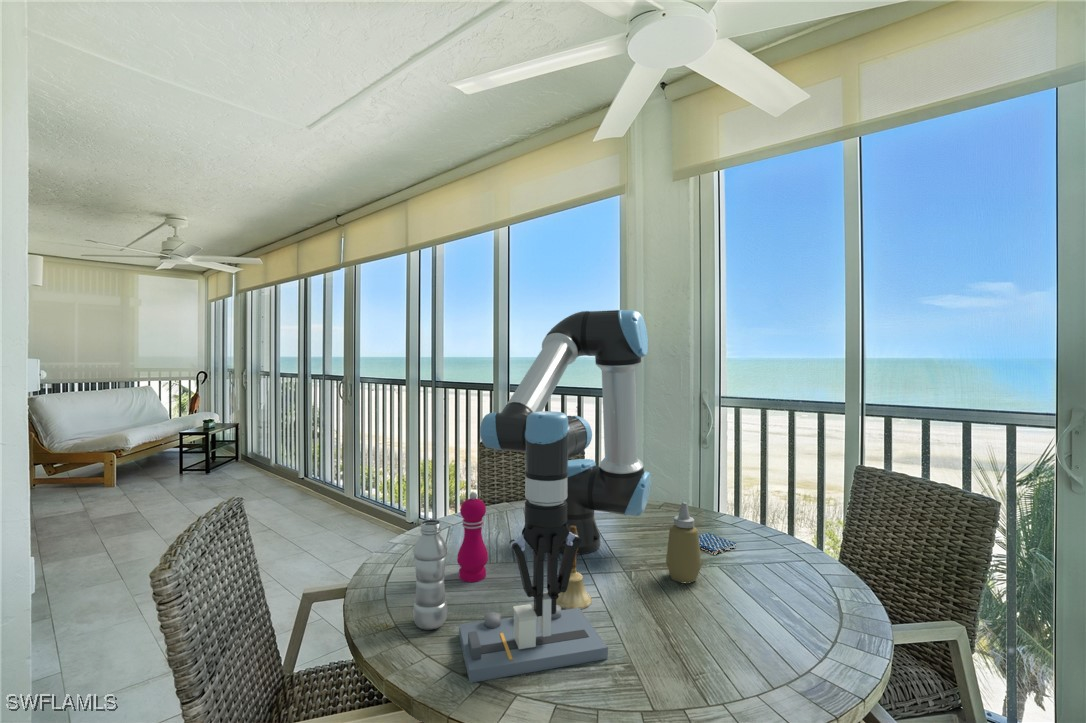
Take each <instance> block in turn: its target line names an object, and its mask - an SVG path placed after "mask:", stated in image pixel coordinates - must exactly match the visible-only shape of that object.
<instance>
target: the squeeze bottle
mask: <svg viewBox="0 0 1086 723" xmlns="http://www.w3.org/2000/svg"><path fill="white" fill-rule="evenodd" d="M689 512H690V511H689V506H688V502H685V501H684V502H681V505H680V509H679V513H678V515H675V516H674V518H673V525H671V526H670V527H669V533H668V539H667V540H668V541H667V542H668V543H667V550H666V557H665V559H666V560H665V562H666V566H667V569H668V572H669V576H670V578H671V579H672V580H673V579H674V580H673V581H675V580H676V581H675V582H677V581H678V582H677V583H680V582H686V583H685V584H690V583H689V582H693V581H695V580H696V581H697V578H698V577H699V574H700V571H701V568H702V560H701V559H702V558H701V549H700V545H699V535H700V534H699V530H698V529H697V527H695V519H694V518H693V517H692V516H690V513H689ZM696 581H695V582H696ZM693 583H694V582H693Z"/></svg>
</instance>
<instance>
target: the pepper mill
mask: <svg viewBox="0 0 1086 723" xmlns="http://www.w3.org/2000/svg"><path fill="white" fill-rule="evenodd" d="M486 507H487V506H486V504H485V502H484V501H483V500H482V499H479V498H478V494H477V493H476V492H474V491H473V492H470V494H469V498H468V499H466V500H464V501H463V502H462V503H461V506H460V513H459V514H460V515H461V517H462V518H463V519H462V527H463V529H464V530H463V531H464V533H463V540H462V543H461V546H460V548H458V553H457V558H456V560H457V564H458V565H459V566H460V568H459V572H458V574H459V579H460V580H461V581H463V582H465V583H476V582H481V581H483V580H485V578H486V576H487V568H486V566H485V565H486V564H487V563H488V561H489V553H488V550H487V547H486V545H485V542H484V539H483V534H482V530H483V526H484V521H485V520H484V516H485V514H486V513H487V508H486Z"/></svg>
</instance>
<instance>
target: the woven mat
mask: <svg viewBox="0 0 1086 723" xmlns="http://www.w3.org/2000/svg"><path fill="white" fill-rule="evenodd" d="M718 541H719V542H718ZM699 545H701V546H700V548H703V549H705V550H708V552H709V551H710V552H711V553H712V552H713V554H714V553H715V554H717V552H720V551H722V550H725V549H727V548H729V547H731V546H733V545H737V543H736V542H734V541H733V540H729V539H728V538H727V539H725V538H724V537H720V536H719V535H717V536H716V535H715V534H714V533H712V534H711V533H710V532H705V533H702V534H699ZM704 547H705V548H704ZM709 549H711V550H709ZM715 551H717V552H715ZM708 552H707V553H708ZM711 553H710V554H711ZM713 554H712V555H713Z"/></svg>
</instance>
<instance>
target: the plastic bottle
mask: <svg viewBox="0 0 1086 723" xmlns="http://www.w3.org/2000/svg"><path fill="white" fill-rule="evenodd" d="M441 531H442V528H441V521H440V520H438V519H426V520H423V521H421V524H420V534H421V536H419V538H418V539H417V541H416V542H415V544H414V547H413V553H412V554H413V561H414V566H415V568H414V569H415V586H416V587H415V598H414V603H413V607H412V608H413V610H412V617H413V622H414V623H415V625H416V626H417V628H418V629H420V630H424V631H425V630H426V631H427V630H428V631H429V630H430V631H431V630H435V629H438V628H440V627H442V626H443V625H444V623H445V622H446V621H447V618H448V604H447V598H446V588H445V575H446V574H445V572H446V562H447V556H448V555H447V554H448V547H447V543H446V542H445V540H444V538H443V537H442V536H441V535H440V533H441Z"/></svg>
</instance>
